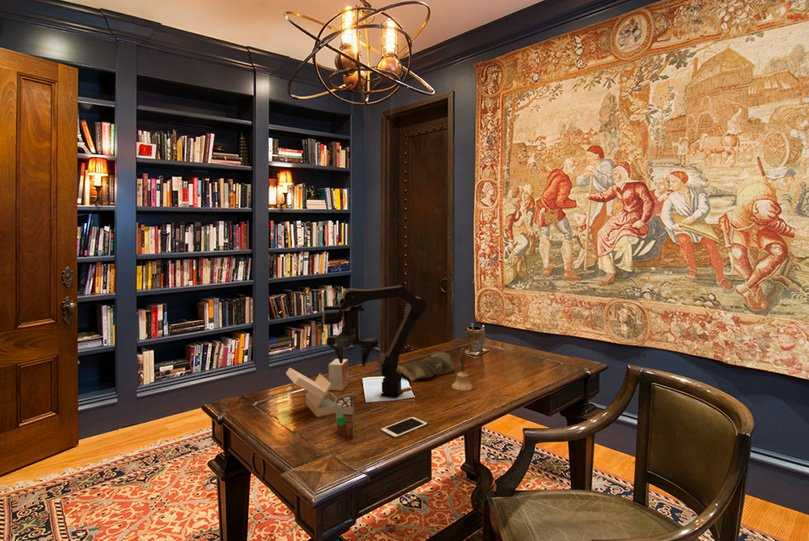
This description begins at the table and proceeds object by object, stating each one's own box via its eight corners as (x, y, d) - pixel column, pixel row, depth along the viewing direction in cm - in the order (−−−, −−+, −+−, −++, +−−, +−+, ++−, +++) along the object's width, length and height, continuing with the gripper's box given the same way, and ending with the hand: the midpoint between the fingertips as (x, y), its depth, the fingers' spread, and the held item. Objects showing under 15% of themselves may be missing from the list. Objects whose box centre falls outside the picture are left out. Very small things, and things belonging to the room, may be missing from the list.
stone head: (385, 366, 201) (432, 350, 218) (389, 385, 201) (436, 368, 218) (412, 367, 186) (461, 350, 203) (417, 388, 185) (465, 369, 203)
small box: (342, 391, 179) (341, 364, 178) (328, 390, 180) (328, 364, 179) (349, 384, 187) (348, 358, 186) (335, 383, 188) (335, 358, 187)
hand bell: (477, 387, 183) (477, 347, 181) (464, 392, 177) (464, 352, 175) (460, 382, 188) (460, 344, 187) (447, 387, 182) (447, 348, 181)
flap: (320, 374, 167) (295, 359, 162) (332, 384, 157) (304, 368, 152) (306, 396, 166) (280, 381, 160) (317, 407, 155) (289, 392, 150)
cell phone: (379, 431, 145) (379, 428, 145) (413, 418, 155) (413, 415, 154) (395, 440, 139) (395, 437, 139) (429, 425, 149) (429, 423, 149)
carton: (331, 399, 170) (331, 392, 170) (343, 411, 160) (343, 403, 159) (306, 404, 166) (306, 397, 166) (317, 417, 155) (316, 409, 155)
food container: (335, 423, 151) (334, 393, 150) (354, 422, 151) (353, 392, 150) (332, 440, 138) (331, 408, 137) (353, 439, 139) (352, 407, 138)
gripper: (317, 325, 165) (318, 368, 166) (364, 329, 158) (365, 374, 159) (333, 319, 175) (334, 359, 176) (378, 323, 168) (378, 365, 170)
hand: (352, 364), depth 170 cm, fingers open, 9 cm apart
